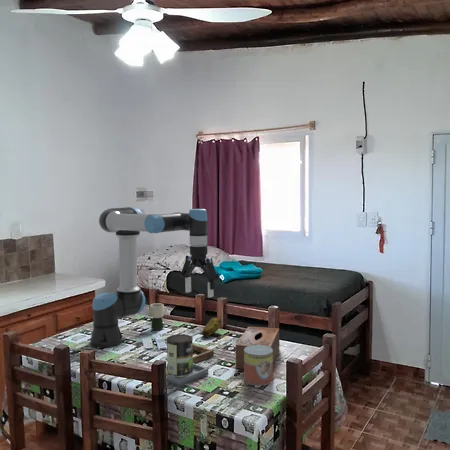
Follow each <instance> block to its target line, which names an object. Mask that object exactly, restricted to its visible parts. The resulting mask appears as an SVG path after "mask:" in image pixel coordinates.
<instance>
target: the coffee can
mask: <svg viewBox="0 0 450 450" xmlns="http://www.w3.org/2000/svg"><path fill="white" fill-rule="evenodd" d="M192 344H193V336H192V335H189V334H183V333H181V334H180V333H177V334H172V335H169V336H168V337H166V352H167V354H166V359H167V364H168V375H170V376H172V377H177V378H180V377H186V376H189V375H191V374H192V373H193V357H194V355H193V351H194V350H192ZM167 364H166V365H167Z"/></svg>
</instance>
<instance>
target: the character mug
mask: <svg viewBox="0 0 450 450" xmlns="http://www.w3.org/2000/svg"><path fill="white" fill-rule="evenodd" d="M166 313H167V307H166V306H164V303H160V302H156V303H151V304H150V305H149V309H147V316H148V317H150V318H152V320H151V329H153V330H162V329H164V322H163V317H164V315H165V314H166Z"/></svg>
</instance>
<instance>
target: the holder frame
mask: <svg viewBox="0 0 450 450" xmlns="http://www.w3.org/2000/svg"><path fill="white" fill-rule="evenodd" d="M192 350H193V351H195V352H198V353H199V354H196V355H193V363H194V364H198V363H199V362H202V361H204V360H206V359H209V358H212V357H214V356H215V352H214V349H211V348H208V347H204V346H201V345H198V344H195V343H192Z"/></svg>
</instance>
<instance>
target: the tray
mask: <svg viewBox="0 0 450 450" xmlns="http://www.w3.org/2000/svg"><path fill="white" fill-rule="evenodd" d="M166 365H167V382H166V383H168V384H171V385H173V386H176V387H179V388H181V387H183V386H185V385H189V384H190V383H193V382H194V381H196V380H198V379H202V378H203V377H206V376H208V375H209V368H208V367H205V366H203V365H200V364H198V363H193V373H192V374H191V375H189V376H186V377H180V378H177V377H172V376H170V375H168V364H166Z"/></svg>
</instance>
